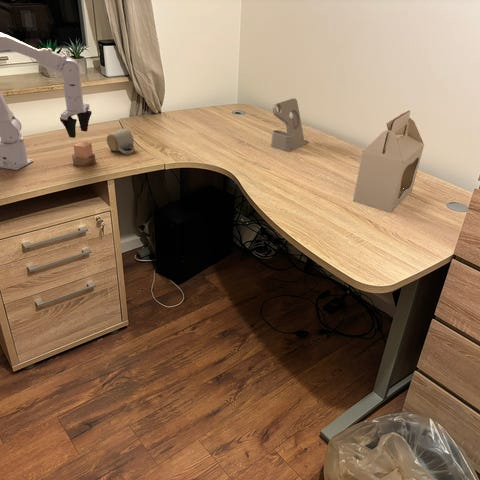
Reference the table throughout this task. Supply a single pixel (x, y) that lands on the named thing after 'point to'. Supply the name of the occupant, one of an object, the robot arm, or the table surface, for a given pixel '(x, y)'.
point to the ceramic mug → (121, 141)
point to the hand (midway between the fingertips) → (78, 134)
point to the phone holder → (288, 127)
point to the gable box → (390, 165)
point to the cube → (83, 150)
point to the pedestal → (84, 161)
